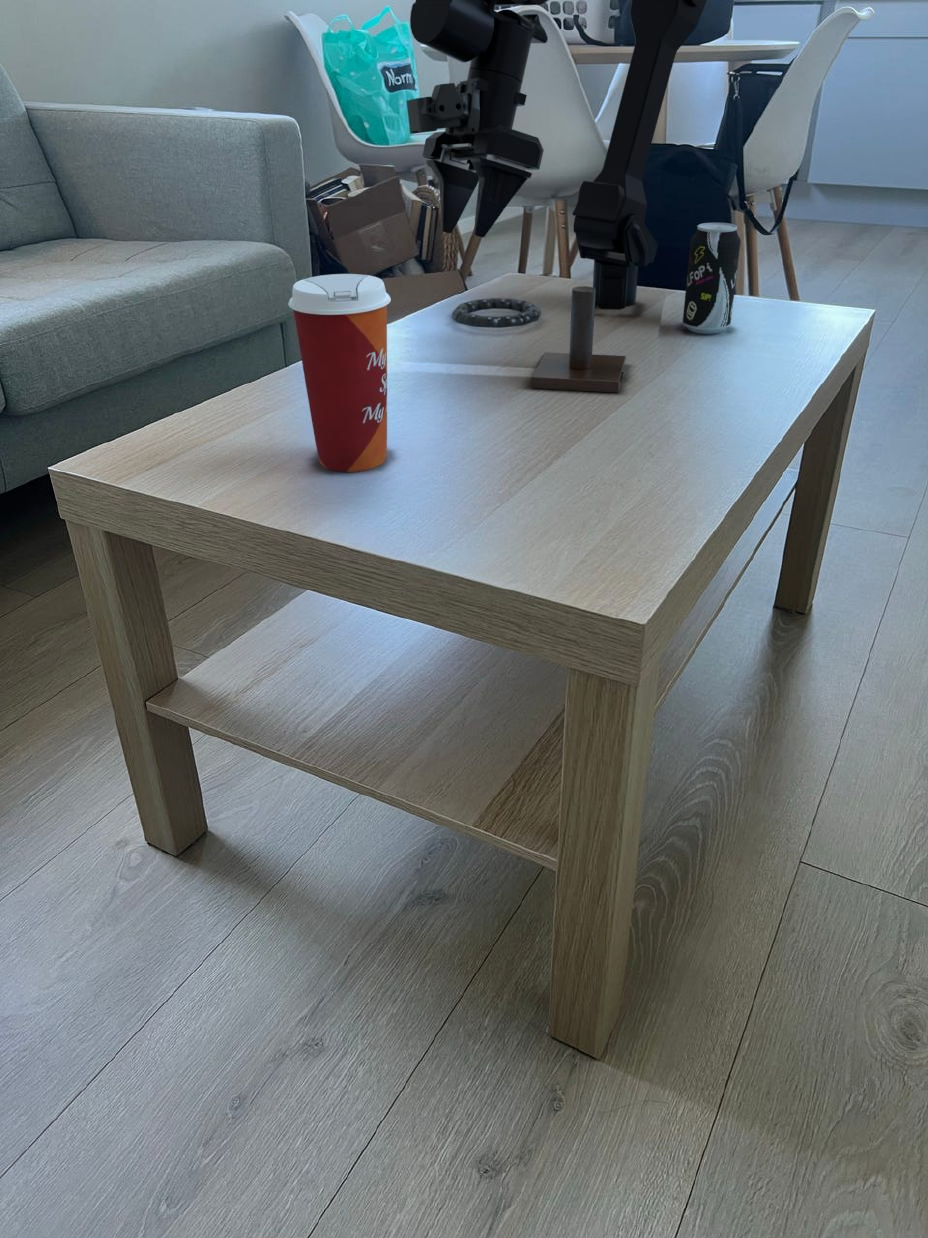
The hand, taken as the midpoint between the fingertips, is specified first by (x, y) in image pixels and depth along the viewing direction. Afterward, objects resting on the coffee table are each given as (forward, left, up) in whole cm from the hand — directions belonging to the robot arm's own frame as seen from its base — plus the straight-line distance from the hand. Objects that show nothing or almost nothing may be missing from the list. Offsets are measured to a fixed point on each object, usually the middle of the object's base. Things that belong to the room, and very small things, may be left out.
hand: (462, 234), depth 105 cm
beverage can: (-14, +27, -13) cm, 33 cm away
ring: (-13, +1, -12) cm, 17 cm away
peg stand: (+7, +14, -13) cm, 21 cm away
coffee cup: (+33, -3, -13) cm, 36 cm away
